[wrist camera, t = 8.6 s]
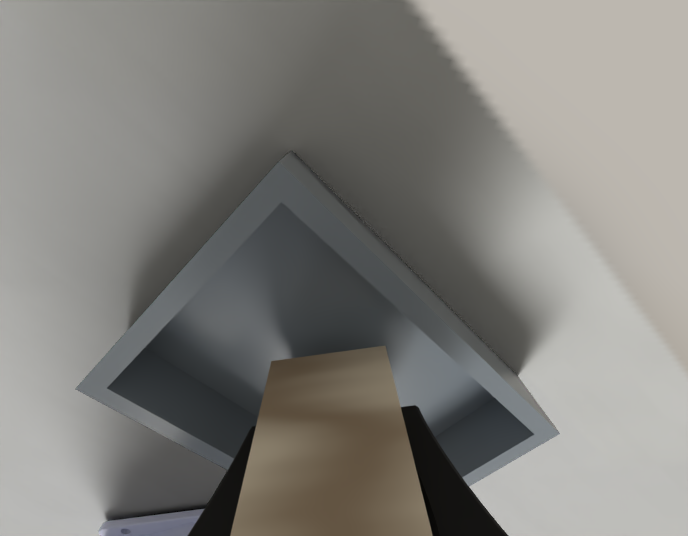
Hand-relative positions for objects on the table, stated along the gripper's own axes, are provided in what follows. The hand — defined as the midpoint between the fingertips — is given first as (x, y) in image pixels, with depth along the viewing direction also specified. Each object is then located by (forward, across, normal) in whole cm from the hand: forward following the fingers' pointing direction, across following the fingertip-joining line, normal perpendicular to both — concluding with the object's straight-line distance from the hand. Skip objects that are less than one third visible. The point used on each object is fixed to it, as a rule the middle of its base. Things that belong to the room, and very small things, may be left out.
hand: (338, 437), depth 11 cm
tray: (+4, 0, 0) cm, 4 cm away
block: (+2, 0, 0) cm, 2 cm away
